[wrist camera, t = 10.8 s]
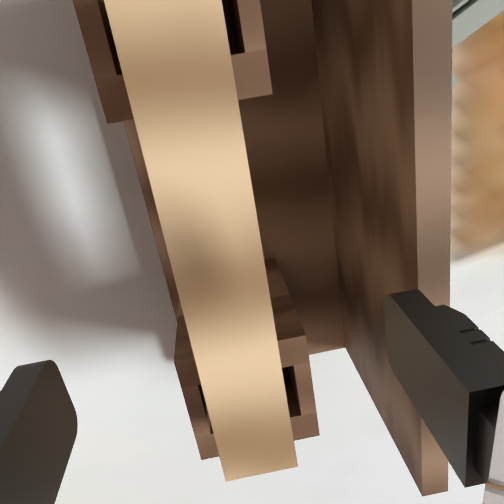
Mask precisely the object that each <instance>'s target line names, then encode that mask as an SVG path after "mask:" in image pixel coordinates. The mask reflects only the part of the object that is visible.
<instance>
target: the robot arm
mask: <svg viewBox="0 0 504 504" xmlns="http://www.w3.org/2000/svg"><path fill="white" fill-rule="evenodd" d="M384 312H385V333H386V350H387V356H388V360H389V363H390V366H391V368H392V371H393V373H394V374H395V376H396V378H397V379H398V381H399V383H400V384H401V386H402V387H403V389H404V391H405V392H406V394H407V395H408V397H409V399H410V400H411V402H412V403H413V405H414V407H415V408H416V410H417V411H418V413H419V415H420V416H421V418H422V419H423V421H424V423H425V424H426V426H427V427H428V429H429V431H430V432H431V434H432V435H433V437H434V439H435V440H436V442H437V443H438V445H439V447H440V448H441V450H442V451H443V453H444V455H445V456H446V458H447V460H448V461H449V463H450V464H451V466H452V468H453V469H454V471H455V472H456V474H457V476H458V477H459V479H460V480H461V482H462V484H463V485H464V487H470V486H474V485H479V484H484V483H485V491H484V497H483V504H504V351H503V350H502V349H500V348H499V347H498V346H497V345H496V344H495V343H494V342H493V341H490V338H489V337H488V336H487V335H486V334H485V333H484V332H483V331H482V330H479V329H478V327H477V326H476V325H475V324H474V323H473V322H472V321H471V320H470V319H469V318H468V317H467V316H466V315H465V314H463V313H461V312H459V311H457V310H455V309H453V308H450V307H448V306H446V305H439V306H434V305H433V304H432V303H431V302H430V300H429V299H428V298H427V297H426V296H425V295H424V294H423V293H422V292H421V291H420V290H418V289H413V290H408V291H403V292H398V293H392V294H387V295H386V296H385V299H384ZM76 435H77V416H76V411H75V408H74V406H73V403H72V401H71V398H70V396H69V394H68V391H67V389H66V386H65V384H64V381H63V379H62V377H61V374H60V372H59V369H58V367H57V365H56V364H55V362H54V361H52V360H47V361H41V362H36V363H31V364H26V365H21V366H17V367H16V368H15V369H14V370H13V372H12V374H11V375H10V377H9V379H8V380H7V382H6V384H5V385H4V387H3V389H2V390H1V391H0V504H54V503H55V500H56V497H57V494H58V491H59V488H60V485H61V482H62V479H63V476H64V473H65V469H66V466H67V463H68V460H69V457H70V454H71V451H72V448H73V445H74V442H75V439H76Z"/></svg>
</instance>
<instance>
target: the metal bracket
mask: <svg viewBox="0 0 504 504" xmlns="http://www.w3.org/2000/svg"><path fill="white" fill-rule="evenodd" d="M503 10H504V0H453V8H452V48H453V47H455V46H456V45H457V44H459V43H460V42H461V41H463V40H464V39H465V38H467V37H468V36H469V35H471V34H472V33H473V32H475V31H476V30H477V29H479V28H480V27H482V26H483V25H484V24H486V23H487V22H488V21H490V20H491V19H492V18H494V17H495V16H496V15H498V14H499V13H500V12H502V11H503ZM456 82H457V81H456V78H455V76H454V74H453V73H452V89H453V88H454V86H455V85H456Z"/></svg>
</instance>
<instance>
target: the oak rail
mask: <svg viewBox="0 0 504 504" xmlns="http://www.w3.org/2000/svg"><path fill="white" fill-rule="evenodd" d="M104 3H105V7H106V10H107V14H108V18H109V22H110V26H111V30H112V34H113V38H114V42H115V46H116V50H117V54H118V58H119V62H120V66H121V70H122V74H123V78H124V82H125V85H126V89H127V93H128V97H129V101H130V105H131V109H132V113H133V117H134V121H135V125H136V129H137V133H138V137H139V141H140V145H141V149H142V153H143V156H144V160H145V164H146V168H147V172H148V176H149V180H150V184H151V188H152V192H153V196H154V200H155V204H156V208H157V212H158V216H159V220H160V224H161V228H162V231H163V235H164V239H165V243H166V247H167V251H168V255H169V259H170V263H171V267H172V271H173V275H174V279H175V283H176V287H177V291H178V295H179V299H180V303H181V306H182V310H183V314H184V318H185V322H186V326H187V330H188V334H189V338H190V342H191V346H192V350H193V354H194V358H195V362H196V366H197V370H198V374H199V378H200V381H201V385H202V389H203V393H204V397H205V401H206V405H207V409H208V413H209V417H210V421H211V425H212V429H213V433H214V437H215V441H216V445H217V449H218V453H219V456H220V460H221V464H222V468H223V472H224V476H225V480H226V481H230V480H235V479H240V478H245V477H250V476H254V475H259V474H264V473H269V472H274V471H278V470H283V469H288V468H293V467H298V464H297V458H296V452H295V446H294V440H293V434H292V428H291V421H290V415H289V409H288V403H287V397H286V391H285V385H284V379H283V373H282V366H281V360H280V354H279V348H278V342H277V336H276V330H275V324H274V318H273V311H272V305H271V299H270V293H269V287H268V281H267V275H266V269H265V263H264V256H263V250H262V244H261V238H260V232H259V226H258V220H257V214H256V208H255V202H254V195H253V189H252V183H251V177H250V171H249V165H248V159H247V153H246V147H245V140H244V134H243V128H242V122H241V116H240V110H239V104H238V98H237V92H236V85H235V79H234V73H233V67H232V61H231V55H230V49H229V43H228V37H227V30H226V24H225V18H224V12H223V6H222V0H104Z"/></svg>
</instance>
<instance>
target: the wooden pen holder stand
mask: <svg viewBox="0 0 504 504" xmlns="http://www.w3.org/2000/svg"><path fill="white" fill-rule="evenodd" d="M73 2H74V6H75V10H76V13H77V17H78V20H79V24H80V27H81V31H82V35H83V38H84V42H85V45H86V49H87V52H88V56H89V60H90V63H91V67H92V70H93V74H94V77H95V81H96V85H97V88H98V92H99V95H100V99H101V102H102V106H103V110H104V113H105V117H106V120H107V124H109V123H114V122H120V121H124V123H125V127H126V131H127V135H128V138H129V142H130V146H131V150H132V153H133V157H134V161H135V165H136V168H137V172H138V176H139V180H140V183H141V187H142V191H143V195H144V199H145V202H146V206H147V210H148V214H149V217H150V221H151V225H152V229H153V232H154V236H155V240H156V244H157V248H158V251H159V255H160V259H161V263H162V266H163V270H164V274H165V278H166V281H167V285H168V289H169V293H170V297H171V300H172V304H173V308H174V312H175V315H176V319H177V333H176V345H175V356H174V363H175V367H176V370H177V374H178V378H179V381H180V385H181V388H182V392H183V395H184V399H185V403H186V406H187V410H188V413H189V417H190V420H191V424H192V428H193V431H194V435H195V438H196V442H197V445H198V449H199V453H200V456H201V460H204V459H208V458H213V457H218V456H219V453H218V449H217V445H216V441H215V437H214V433H213V429H212V425H211V421H210V417H209V413H208V409H207V405H206V401H205V397H204V393H203V389H202V385H201V381H200V378H199V374H198V370H197V366H196V362H195V358H194V354H193V350H192V346H191V342H190V338H189V334H188V330H187V326H186V322H185V318H184V314H183V310H182V306H181V303H180V299H179V295H178V291H177V287H176V283H175V279H174V275H173V271H172V267H171V263H170V259H169V255H168V251H167V247H166V243H165V239H164V235H163V231H162V228H161V224H160V220H159V216H158V212H157V208H156V204H155V200H154V196H153V192H152V188H151V184H150V180H149V176H148V172H147V168H146V164H145V160H144V156H143V153H142V149H141V145H140V141H139V137H138V133H137V129H136V125H135V121H134V117H133V113H132V109H131V105H130V101H129V97H128V93H127V89H126V85H125V82H124V78H123V74H122V70H121V66H120V62H119V58H118V54H117V50H116V46H115V42H114V38H113V34H112V30H111V26H110V22H109V18H108V14H107V10H106V7H105V3H104V0H73ZM222 6H223V12H224V18H225V24H226V30H227V37H228V43H229V49H230V55H231V61H232V67H233V73H234V79H235V85H236V92H237V98H238V104H239V110H240V116H241V122H242V128H243V134H244V140H245V147H246V153H247V159H248V165H249V171H250V177H251V183H252V189H253V195H254V202H255V208H256V214H257V220H258V226H259V232H260V238H261V244H262V250H263V256H264V263H265V269H266V275H267V281H268V287H269V293H270V299H271V305H272V311H273V318H274V324H275V330H276V336H277V342H278V348H279V354H280V360H281V366H282V373H283V379H284V385H285V391H286V397H287V403H288V409H289V415H290V421H291V428H292V434H293V440H294V441H295V440H299V439H304V438H309V437H314V436H319V428H318V420H317V413H316V406H315V398H314V391H313V384H312V377H311V369H310V362H309V355H310V354H315V353H320V352H325V351H330V350H335V349H340V348H346V350H347V352H348V354H349V355H350V357H351V359H352V361H353V363H354V365H355V367H356V369H357V371H358V373H359V375H360V377H361V379H362V381H363V383H364V384H365V386H366V388H367V390H368V392H369V394H370V396H371V398H372V400H373V402H374V404H375V406H376V408H377V410H378V411H379V413H380V415H381V417H382V419H383V421H384V423H385V425H386V427H387V429H388V431H389V433H390V435H391V437H392V438H393V440H394V442H395V444H396V446H397V448H398V450H399V452H400V454H401V456H402V458H403V460H404V462H405V464H406V465H407V467H408V469H409V471H410V473H411V475H412V477H413V479H414V481H415V483H416V485H417V487H418V489H419V491H420V492H421V494H422V496H427V495H431V494H436V493H440V492H445V491H448V460H447V458H446V456H445V455H444V453H443V451H442V450H441V448H440V447H439V445H438V443H437V442H436V440H435V439H434V437H433V435H432V434H431V432H430V431H429V429H428V427H427V426H426V424H425V423H424V421H423V419H422V418H421V416H420V415H419V413H418V411H417V410H416V408H415V407H414V405H413V403H412V402H411V400H410V399H409V397H408V395H407V394H406V392H405V391H404V389H403V387H402V386H401V384H400V383H399V381H398V379H397V378H396V376H395V374H394V373H393V371H392V368H391V366H390V363H389V360H388V356H387V350H386V333H385V312H384V299H385V296H386V295H387V294H392V293H398V292H403V291H408V290H413V289H418V290H420V291H421V292H422V293H423V294H424V295H425V296H426V297H427V298H428V299H429V300H430V302H431V303H432V304H433V305H434V306H439V305H446V306H448V307H450V213H451V110H452V8H453V0H222Z"/></svg>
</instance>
